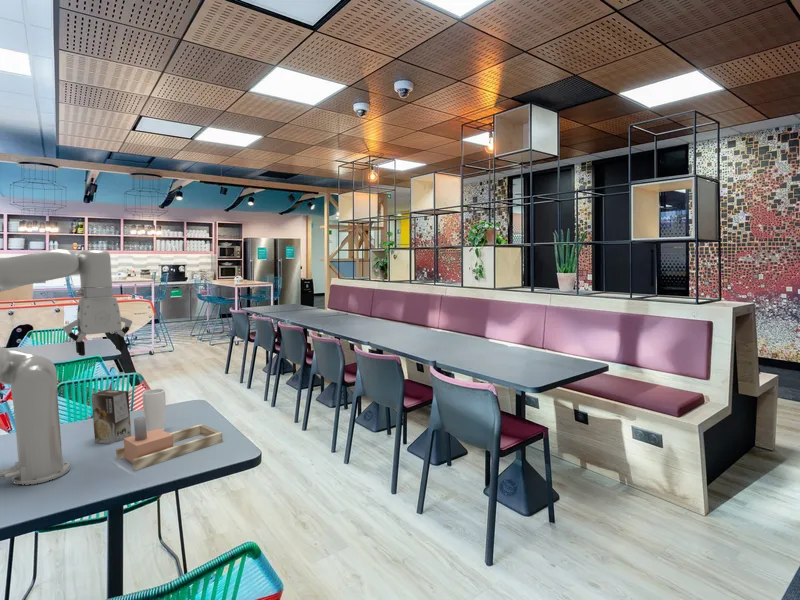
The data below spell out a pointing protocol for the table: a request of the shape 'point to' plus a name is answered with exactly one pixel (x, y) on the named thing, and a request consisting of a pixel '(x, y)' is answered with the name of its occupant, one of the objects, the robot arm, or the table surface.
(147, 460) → the bay
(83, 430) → the table surface
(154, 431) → the salmon block with knob
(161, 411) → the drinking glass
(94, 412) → the coffee box
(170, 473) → the table surface
